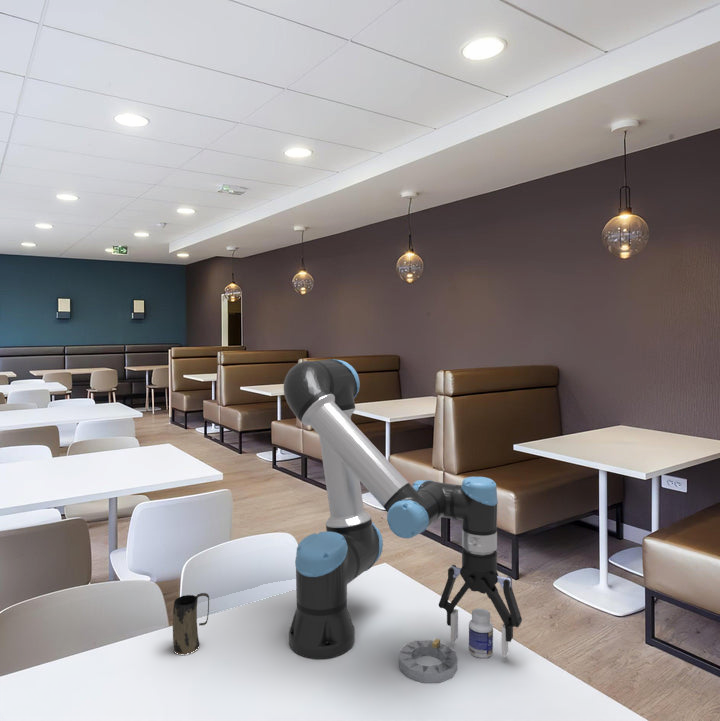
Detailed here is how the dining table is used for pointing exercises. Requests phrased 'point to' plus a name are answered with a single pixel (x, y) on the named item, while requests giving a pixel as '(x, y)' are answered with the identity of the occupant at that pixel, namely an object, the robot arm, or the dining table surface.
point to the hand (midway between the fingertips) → (479, 647)
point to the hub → (428, 672)
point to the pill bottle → (481, 634)
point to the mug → (186, 623)
